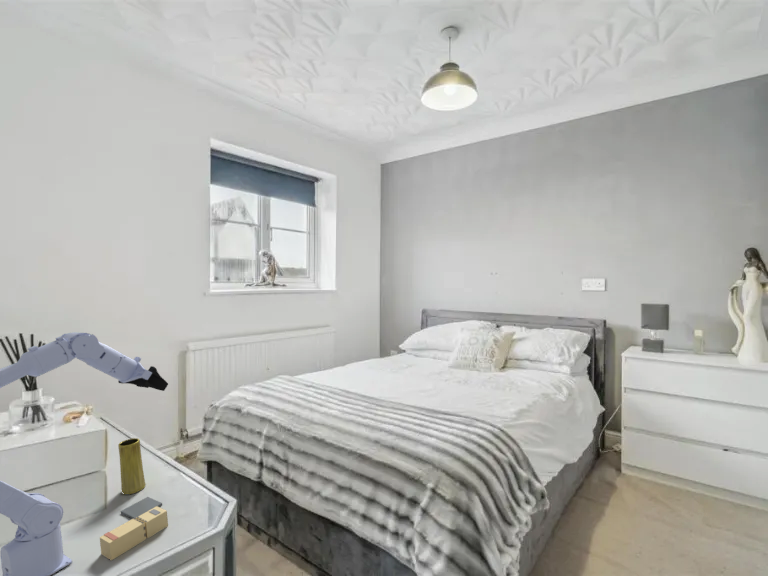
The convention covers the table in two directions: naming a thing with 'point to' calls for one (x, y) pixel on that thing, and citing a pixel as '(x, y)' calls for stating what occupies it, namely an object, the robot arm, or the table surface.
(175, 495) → the table surface
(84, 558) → the table surface
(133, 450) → the vase
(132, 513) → the coaster
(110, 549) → the cardboard shipping box
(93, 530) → the table surface
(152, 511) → the stub
